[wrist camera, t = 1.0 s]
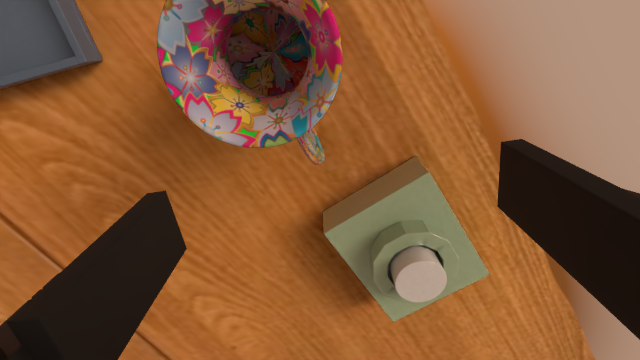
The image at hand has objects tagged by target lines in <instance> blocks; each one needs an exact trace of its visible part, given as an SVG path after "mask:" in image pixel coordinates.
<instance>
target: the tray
mask: <svg viewBox="0 0 640 360" xmlns="http://www.w3.org/2000/svg"><path fill="white" fill-rule="evenodd" d="M102 60H103V59H102V57H101V55H100V53H99V51H98V49H97V47H96V45H95V43H94V40H93V38H92V36H91V34H90V32H89V30H88V28H87V26H86V23H85V21H84V19H83V17H82V15H81V13H80V11H79V9H78V7H77V4H76V2H75V0H0V89H4V88H7V87H11V86H14V85H18V84H21V83H25V82H29V81H32V80H36V79H39V78H43V77H46V76H50V75H53V74H57V73H60V72H64V71H67V70H71V69H74V68H78V67H82V66H85V65H89V64H92V63H96V62H99V61H102Z"/></svg>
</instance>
